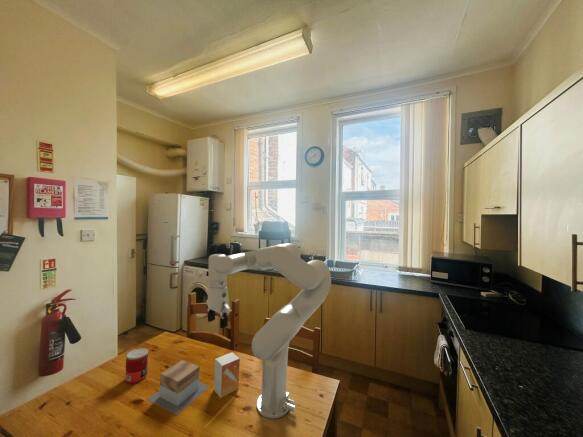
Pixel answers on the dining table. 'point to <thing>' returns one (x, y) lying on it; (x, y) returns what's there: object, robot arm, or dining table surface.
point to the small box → (226, 374)
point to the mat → (177, 409)
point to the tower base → (180, 397)
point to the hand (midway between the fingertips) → (217, 324)
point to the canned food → (136, 365)
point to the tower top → (179, 376)
